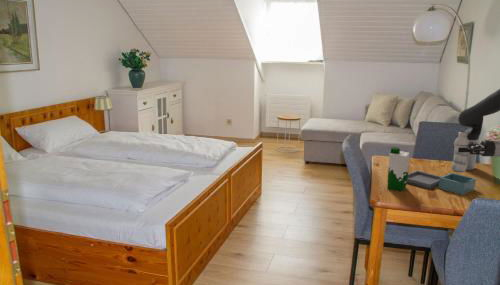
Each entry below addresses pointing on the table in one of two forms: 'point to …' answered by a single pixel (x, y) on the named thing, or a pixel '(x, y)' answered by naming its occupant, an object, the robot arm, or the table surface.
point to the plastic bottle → (460, 157)
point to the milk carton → (398, 169)
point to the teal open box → (457, 183)
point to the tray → (423, 179)
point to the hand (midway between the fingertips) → (456, 147)
